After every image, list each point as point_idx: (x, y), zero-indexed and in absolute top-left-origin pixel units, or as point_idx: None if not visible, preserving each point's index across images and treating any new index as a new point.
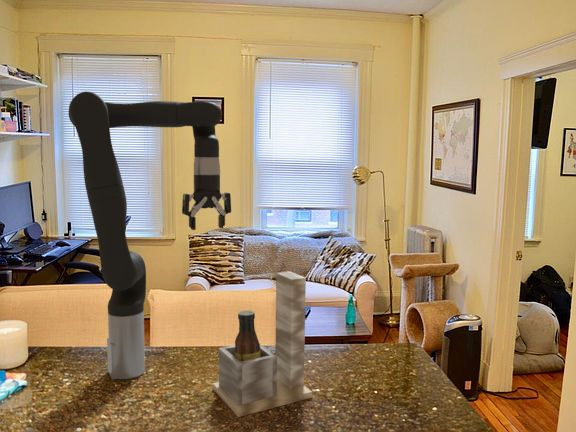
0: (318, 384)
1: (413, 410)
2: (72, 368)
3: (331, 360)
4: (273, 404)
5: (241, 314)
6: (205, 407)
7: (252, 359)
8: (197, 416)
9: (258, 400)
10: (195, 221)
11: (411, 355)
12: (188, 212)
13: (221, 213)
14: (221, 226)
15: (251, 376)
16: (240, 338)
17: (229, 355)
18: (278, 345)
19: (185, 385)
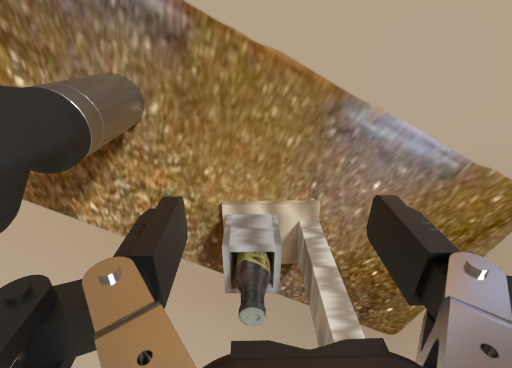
0: (337, 240)
1: (371, 305)
2: (17, 35)
3: (401, 196)
4: None
5: (241, 319)
6: (201, 233)
7: None
8: (189, 244)
9: None
10: (173, 280)
11: (496, 227)
12: (70, 361)
13: (422, 329)
14: (372, 241)
15: None
16: (239, 291)
17: (226, 271)
18: (306, 256)
19: (193, 178)
